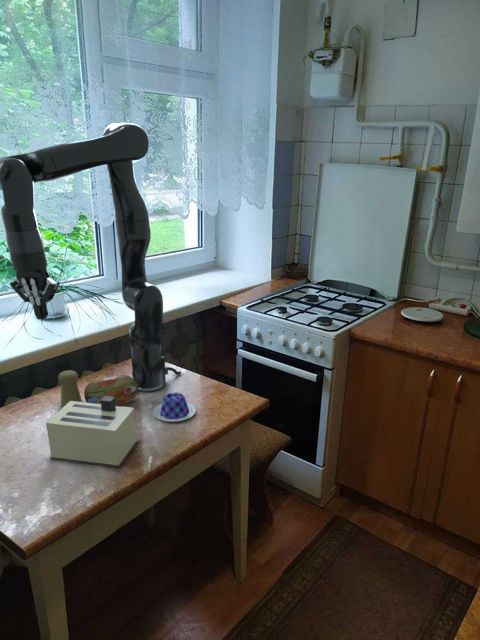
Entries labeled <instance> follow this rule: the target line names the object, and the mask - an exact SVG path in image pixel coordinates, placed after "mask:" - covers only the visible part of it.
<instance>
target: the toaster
mask: <svg viewBox="0 0 480 640" xmlns="http://www.w3.org/2000/svg"><path fill="white" fill-rule="evenodd" d="M135 411H136V410H135V407H129V406H122V405H117V406H116V407H115V408H114V410H113V411H112V412H111V411H102V409H101V404H94V403H86V401H85V402H84V401H82V402H76V401H70V402H69V403H67V404H66V405H65V406H64V407H63V408H62V409H61V408H60V410H59V411H57V412H56V413H55V414H54V415H53V416H52V417H51V418H49V420H47V421H46V423H45V425H46V431H47V438H48V445H49V451H50V456H49V458H50V459H49V460H54V461H61V462H68V463H77V464H83V465H93V466H99V467H109V468H116V469H120V468H121V466H122V465H123V464H124V462H125V461H126V460H127V458H128V456H129V455H130V454H131V453H132V451H133V450H134V448H135V447H136V446H137V444H138V443H139V440H138V439H137V425H136V412H135Z"/></svg>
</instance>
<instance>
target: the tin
mask: <svg viewBox="0 0 480 640" xmlns="http://www.w3.org/2000/svg"><path fill="white" fill-rule="evenodd" d="M138 394H139V391H138V385H137V383H136V381H135V380H134V379H133V377H131V376H130V375H128V374H127V375H126V374H120V375H115V376H110V377H104V378H98V379H94V380H92V381H90V382H89V383H88V384H87V385H86V387H85V389H84V393H83V397H84V401H85V403H94V404H101V399H102V398H103V397H104V396H110V397H115V403H116V406H122V405H127V404H130V403H131V402H133V401H134V400H135V399H136V398H137V396H138Z"/></svg>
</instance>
